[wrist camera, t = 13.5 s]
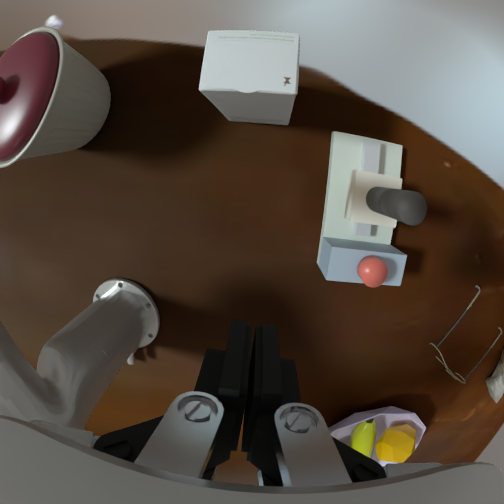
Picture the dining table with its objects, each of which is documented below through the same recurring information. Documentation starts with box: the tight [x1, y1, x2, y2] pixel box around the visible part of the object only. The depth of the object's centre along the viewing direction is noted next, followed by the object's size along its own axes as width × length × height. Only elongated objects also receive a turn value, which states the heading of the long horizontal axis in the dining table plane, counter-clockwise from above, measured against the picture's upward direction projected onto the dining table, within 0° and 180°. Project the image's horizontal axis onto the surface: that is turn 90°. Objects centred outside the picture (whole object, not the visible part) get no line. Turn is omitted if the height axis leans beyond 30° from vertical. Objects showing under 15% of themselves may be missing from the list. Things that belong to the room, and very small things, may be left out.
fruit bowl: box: [328, 406, 426, 466], centre depth 43 cm, size 28×27×11 cm
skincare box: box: [199, 30, 300, 125], centre depth 26 cm, size 8×7×16 cm
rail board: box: [317, 131, 407, 286], centre depth 33 cm, size 18×10×7 cm, turn 175°
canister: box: [0, 26, 111, 168], centre depth 25 cm, size 18×18×21 cm
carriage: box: [344, 170, 427, 228], centre depth 28 cm, size 6×6×14 cm
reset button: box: [357, 255, 388, 287], centre depth 30 cm, size 3×3×2 cm
